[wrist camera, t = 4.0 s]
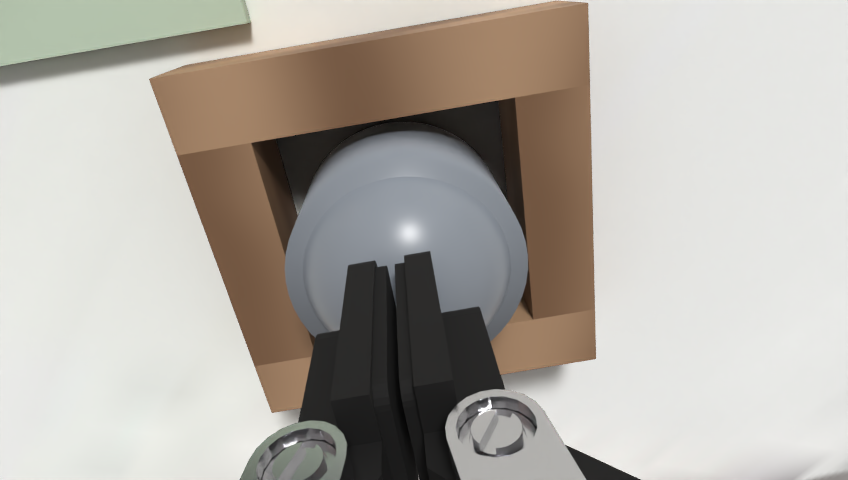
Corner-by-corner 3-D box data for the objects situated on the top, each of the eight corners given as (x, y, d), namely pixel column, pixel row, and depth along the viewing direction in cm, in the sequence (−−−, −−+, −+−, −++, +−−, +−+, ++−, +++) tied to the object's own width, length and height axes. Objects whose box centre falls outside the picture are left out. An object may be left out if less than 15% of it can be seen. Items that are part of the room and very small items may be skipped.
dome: (488, 103, 14) (537, 159, 10) (507, 282, 17) (553, 395, 12) (283, 139, 14) (234, 211, 10) (331, 311, 17) (309, 436, 12)
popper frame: (557, 0, 14) (588, 3, 12) (571, 315, 18) (595, 358, 16) (185, 65, 14) (148, 79, 12) (285, 363, 19) (271, 412, 16)
